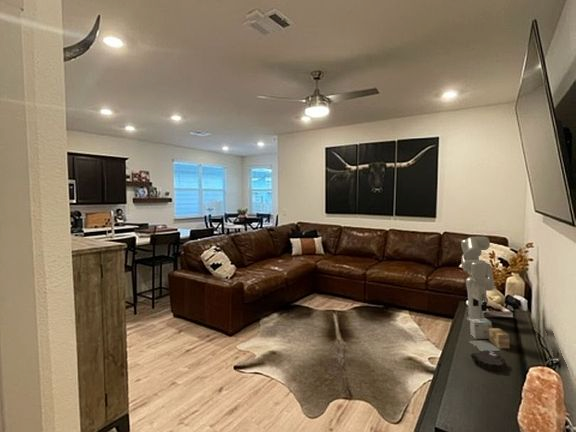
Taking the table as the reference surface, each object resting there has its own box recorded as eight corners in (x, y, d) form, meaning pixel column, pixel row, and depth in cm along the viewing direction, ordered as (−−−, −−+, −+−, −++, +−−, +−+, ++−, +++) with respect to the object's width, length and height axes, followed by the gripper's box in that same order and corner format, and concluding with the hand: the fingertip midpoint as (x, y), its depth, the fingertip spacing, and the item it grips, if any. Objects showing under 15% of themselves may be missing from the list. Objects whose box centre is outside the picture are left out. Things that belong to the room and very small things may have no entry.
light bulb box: (487, 334, 209) (486, 318, 209) (492, 338, 203) (492, 321, 202) (470, 334, 210) (469, 318, 210) (474, 339, 204) (474, 322, 203)
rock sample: (512, 373, 163) (511, 364, 163) (478, 372, 166) (477, 363, 166) (497, 357, 180) (497, 348, 180) (466, 356, 183) (466, 347, 183)
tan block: (489, 341, 199) (488, 328, 199) (499, 340, 199) (498, 328, 199) (499, 348, 189) (498, 335, 189) (509, 348, 189) (509, 334, 189)
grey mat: (468, 341, 201) (468, 341, 201) (486, 340, 201) (486, 340, 200) (481, 351, 187) (481, 351, 187) (500, 350, 187) (500, 350, 187)
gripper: (465, 279, 214) (466, 304, 214) (480, 285, 197) (481, 312, 197) (477, 278, 214) (478, 304, 214) (492, 284, 196) (494, 312, 197)
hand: (479, 308), depth 206 cm, fingers open, 9 cm apart
